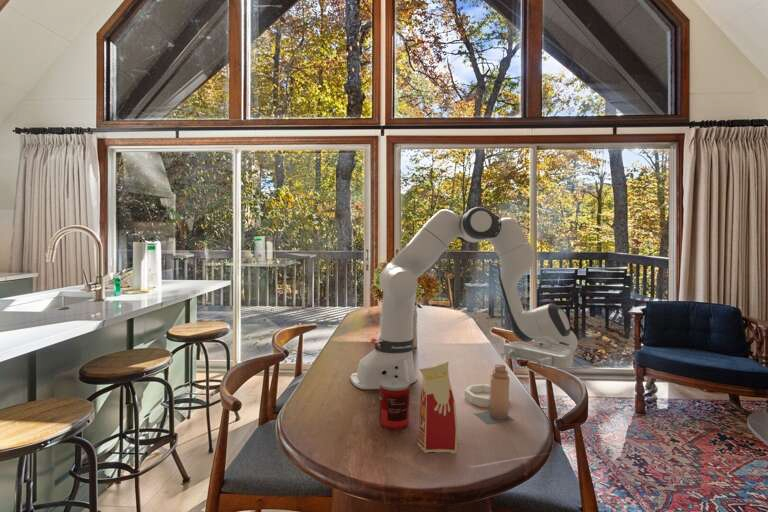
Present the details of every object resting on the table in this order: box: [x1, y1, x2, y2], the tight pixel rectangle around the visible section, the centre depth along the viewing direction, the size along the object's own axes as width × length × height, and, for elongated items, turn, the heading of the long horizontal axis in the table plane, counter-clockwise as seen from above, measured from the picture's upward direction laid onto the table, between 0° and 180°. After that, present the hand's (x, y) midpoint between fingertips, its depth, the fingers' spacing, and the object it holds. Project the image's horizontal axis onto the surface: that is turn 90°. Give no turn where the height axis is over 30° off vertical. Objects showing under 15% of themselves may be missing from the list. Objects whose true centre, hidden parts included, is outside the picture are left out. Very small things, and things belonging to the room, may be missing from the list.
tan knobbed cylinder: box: [489, 364, 510, 420], centre depth 118 cm, size 5×5×14 cm
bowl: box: [464, 383, 490, 408], centre depth 130 cm, size 12×12×3 cm
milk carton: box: [417, 361, 458, 454], centre depth 102 cm, size 9×9×20 cm
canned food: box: [378, 378, 410, 431], centre depth 113 cm, size 8×8×11 cm
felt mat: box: [473, 410, 516, 425], centre depth 118 cm, size 8×7×1 cm
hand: (524, 359), depth 126 cm, fingers open, 8 cm apart
